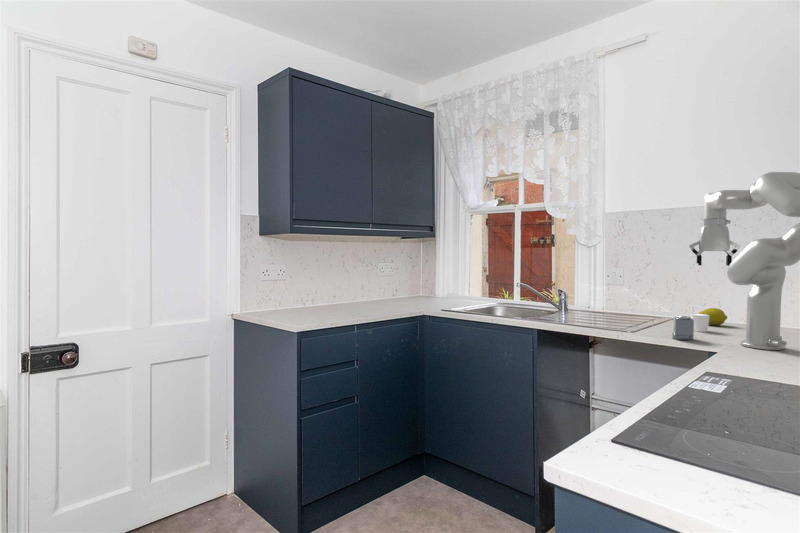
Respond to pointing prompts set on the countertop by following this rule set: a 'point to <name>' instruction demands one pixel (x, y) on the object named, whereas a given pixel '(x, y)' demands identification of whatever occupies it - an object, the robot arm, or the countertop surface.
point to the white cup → (700, 322)
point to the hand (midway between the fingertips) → (713, 265)
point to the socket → (683, 325)
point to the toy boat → (682, 337)
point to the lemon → (715, 316)
